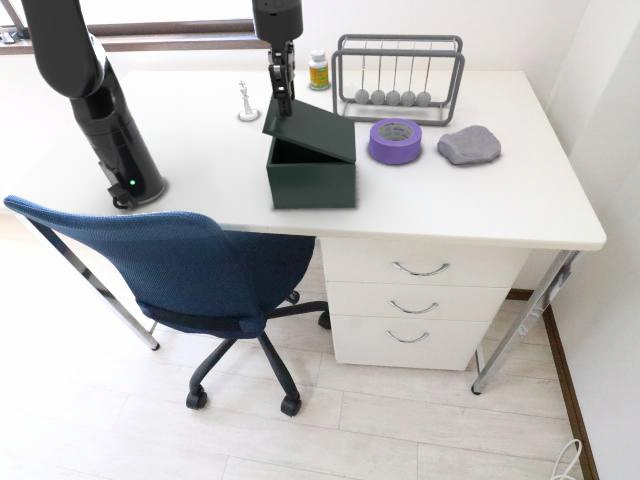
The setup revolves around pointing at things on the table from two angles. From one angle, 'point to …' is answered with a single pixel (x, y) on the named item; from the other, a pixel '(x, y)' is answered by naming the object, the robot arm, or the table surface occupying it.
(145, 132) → the table surface
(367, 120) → the newton's cradle
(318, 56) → the supplement bottle
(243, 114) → the chess piece
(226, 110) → the table surface
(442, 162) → the table surface
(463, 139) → the stone block
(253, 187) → the table surface
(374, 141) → the tape roll
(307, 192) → the waste bin
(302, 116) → the bin lid
